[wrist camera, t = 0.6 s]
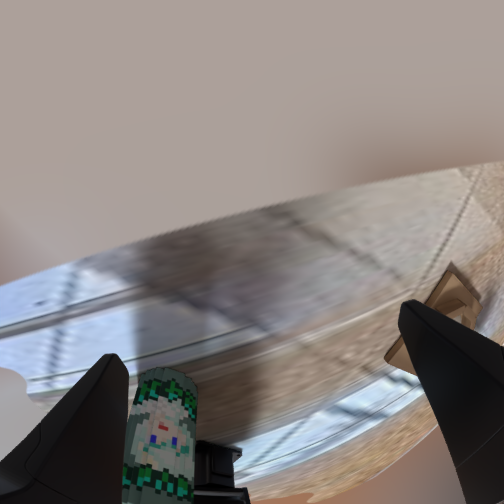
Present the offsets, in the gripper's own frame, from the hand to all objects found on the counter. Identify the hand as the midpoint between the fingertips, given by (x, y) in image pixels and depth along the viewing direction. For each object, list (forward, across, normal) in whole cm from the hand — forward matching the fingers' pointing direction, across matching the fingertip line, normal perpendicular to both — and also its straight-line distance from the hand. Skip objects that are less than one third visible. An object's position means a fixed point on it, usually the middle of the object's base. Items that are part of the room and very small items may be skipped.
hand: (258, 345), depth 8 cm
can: (+12, +11, +17) cm, 24 cm away
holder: (+13, -20, +19) cm, 30 cm away
